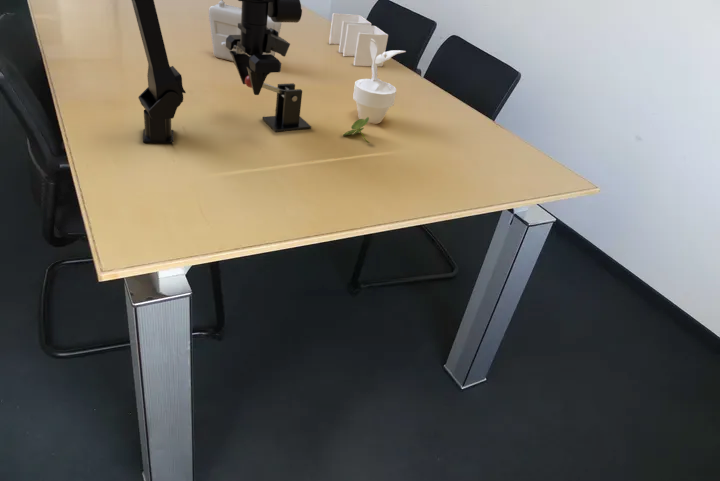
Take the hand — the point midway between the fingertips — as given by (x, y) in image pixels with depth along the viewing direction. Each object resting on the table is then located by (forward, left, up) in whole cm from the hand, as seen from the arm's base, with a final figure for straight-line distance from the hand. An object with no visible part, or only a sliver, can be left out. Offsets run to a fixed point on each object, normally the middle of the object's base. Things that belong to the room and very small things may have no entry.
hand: (250, 89), depth 134 cm
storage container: (+69, -47, -10) cm, 84 cm away
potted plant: (+9, -35, -10) cm, 38 cm away
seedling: (-4, -27, -10) cm, 29 cm away
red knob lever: (+1, -4, -1) cm, 5 cm away
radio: (+52, -4, -10) cm, 53 cm away
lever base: (+3, -10, -10) cm, 15 cm away
